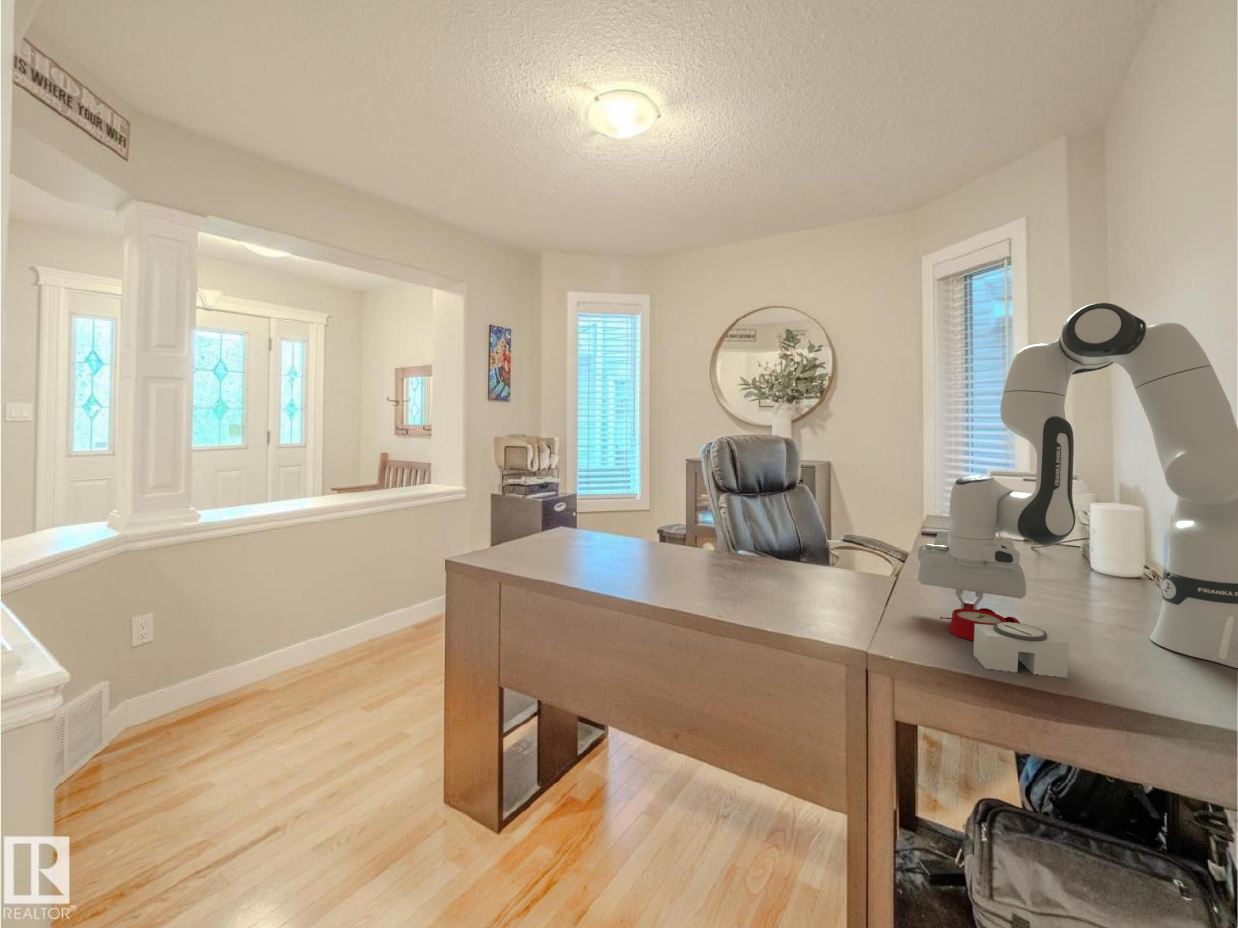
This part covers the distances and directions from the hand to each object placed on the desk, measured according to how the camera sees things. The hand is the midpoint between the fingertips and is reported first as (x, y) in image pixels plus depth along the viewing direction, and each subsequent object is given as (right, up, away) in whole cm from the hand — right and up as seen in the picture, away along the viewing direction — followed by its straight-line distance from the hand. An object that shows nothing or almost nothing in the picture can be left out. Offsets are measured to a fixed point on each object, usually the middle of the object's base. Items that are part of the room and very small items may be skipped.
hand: (968, 610), depth 121 cm
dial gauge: (-7, -3, -25) cm, 26 cm away
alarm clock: (-3, -3, -9) cm, 10 cm away
